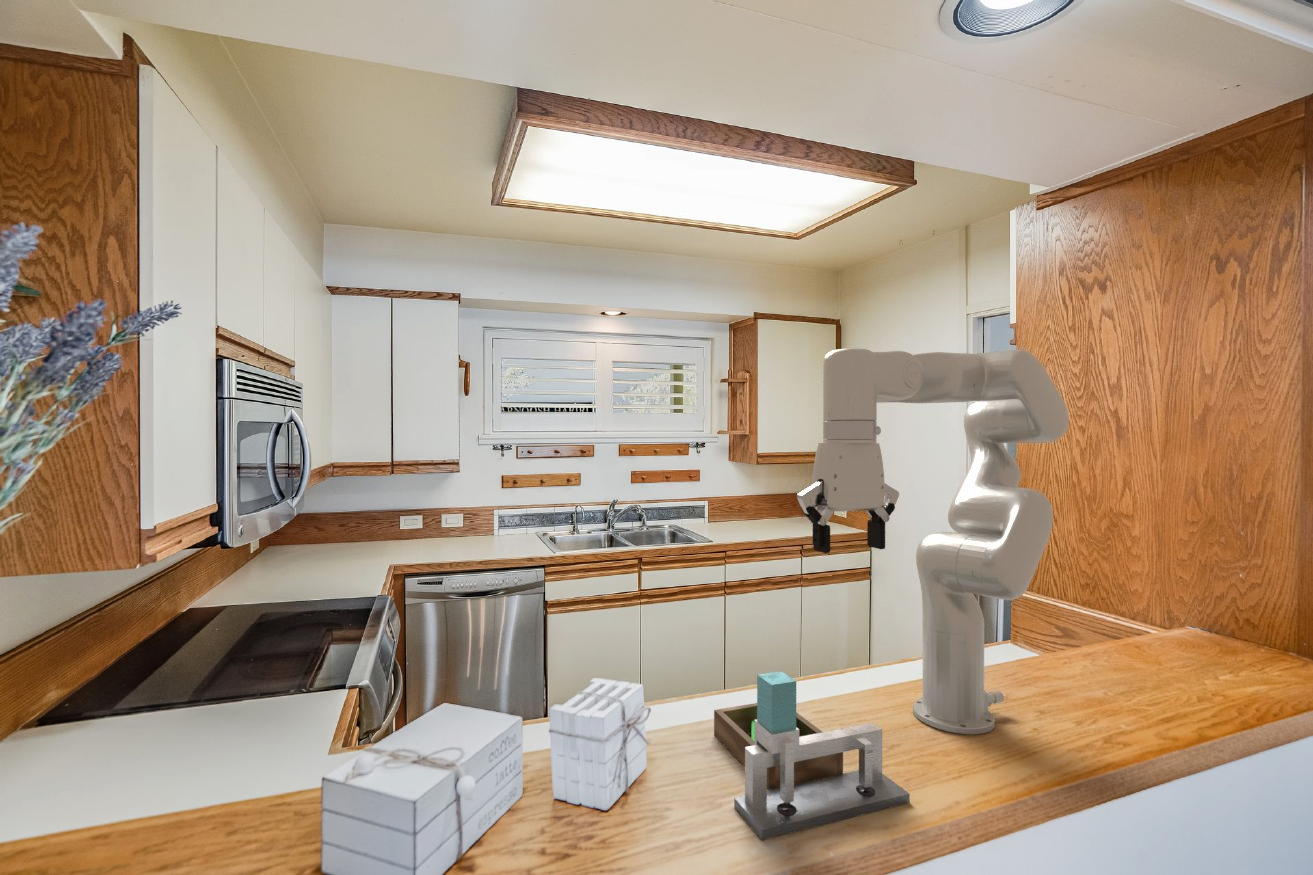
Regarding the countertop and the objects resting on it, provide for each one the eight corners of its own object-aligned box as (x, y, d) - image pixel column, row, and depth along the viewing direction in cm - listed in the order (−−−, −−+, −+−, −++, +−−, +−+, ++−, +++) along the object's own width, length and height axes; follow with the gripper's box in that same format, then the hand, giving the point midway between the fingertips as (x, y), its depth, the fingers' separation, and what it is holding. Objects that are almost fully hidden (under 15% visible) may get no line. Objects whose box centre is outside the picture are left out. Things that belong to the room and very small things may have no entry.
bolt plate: (873, 775, 87) (873, 765, 87) (909, 802, 80) (909, 792, 80) (734, 806, 79) (734, 796, 79) (761, 840, 72) (761, 829, 72)
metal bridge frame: (872, 780, 85) (872, 722, 85) (893, 796, 81) (893, 735, 82) (744, 809, 78) (745, 747, 78) (761, 828, 75) (761, 762, 75)
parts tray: (778, 723, 103) (778, 699, 103) (843, 775, 87) (843, 746, 87) (714, 734, 98) (714, 709, 98) (768, 791, 82) (769, 761, 83)
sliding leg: (780, 781, 82) (780, 669, 82) (803, 803, 77) (803, 684, 77) (754, 787, 80) (754, 673, 80) (775, 810, 75) (775, 689, 75)
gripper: (879, 434, 97) (879, 542, 97) (785, 433, 91) (784, 548, 91) (914, 433, 90) (914, 550, 90) (814, 432, 84) (814, 558, 84)
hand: (849, 549), depth 90 cm, fingers open, 9 cm apart
